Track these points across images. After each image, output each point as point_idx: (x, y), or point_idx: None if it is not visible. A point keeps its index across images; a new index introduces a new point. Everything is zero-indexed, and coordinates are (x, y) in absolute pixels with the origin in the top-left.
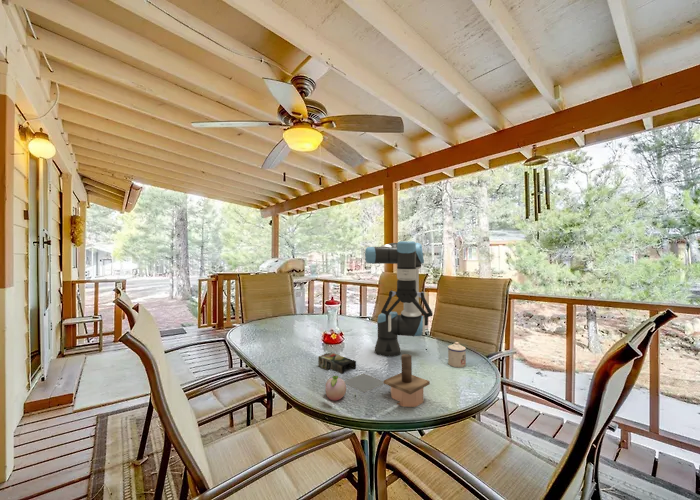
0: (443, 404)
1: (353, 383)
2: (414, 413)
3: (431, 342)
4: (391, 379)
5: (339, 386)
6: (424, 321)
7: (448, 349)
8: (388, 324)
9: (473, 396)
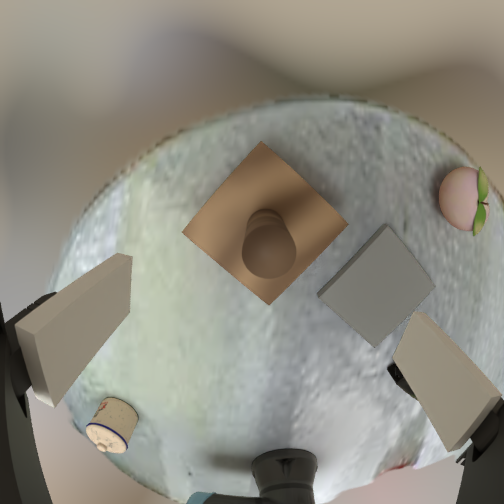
0: (161, 195)
1: (410, 281)
2: (250, 134)
3: (179, 491)
4: (320, 234)
5: (466, 175)
6: (46, 302)
7: (126, 440)
8: (453, 343)
9: (86, 250)
